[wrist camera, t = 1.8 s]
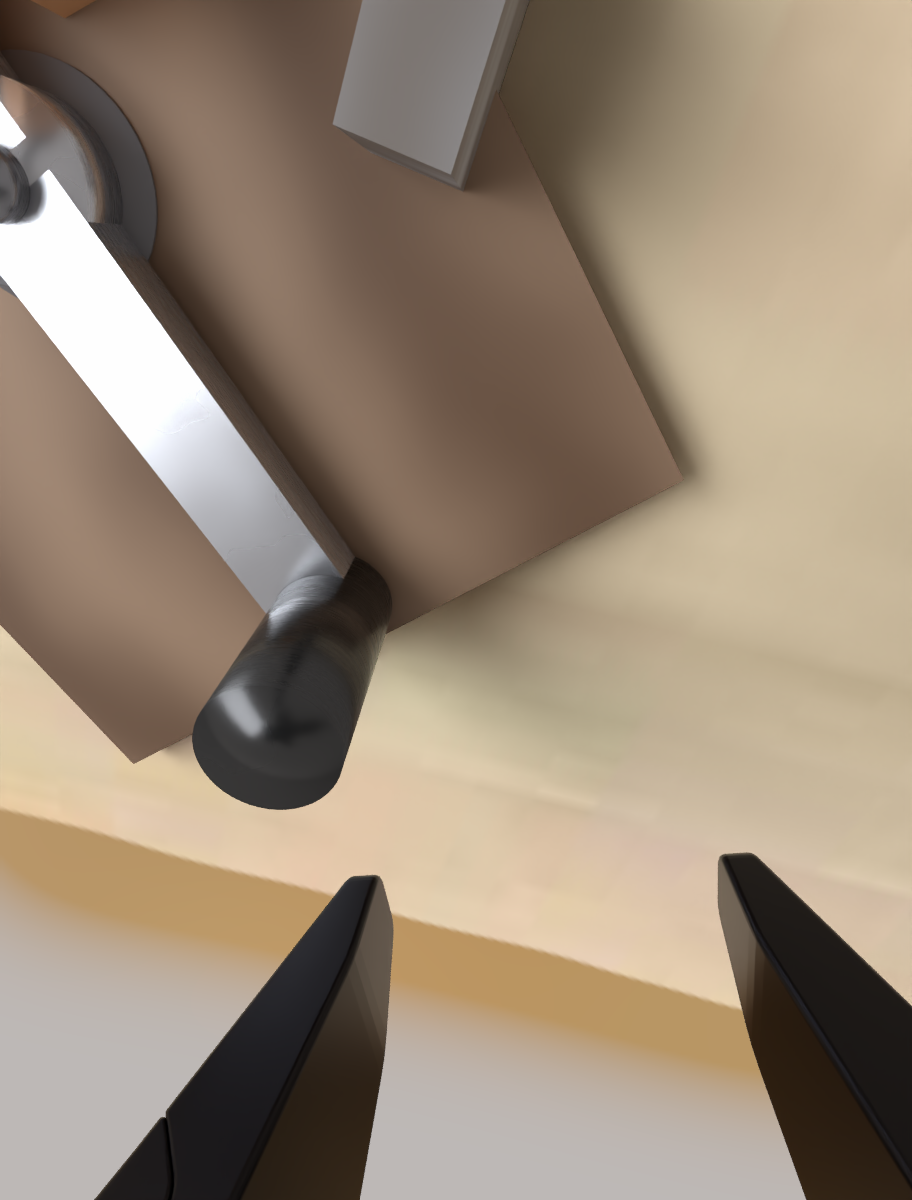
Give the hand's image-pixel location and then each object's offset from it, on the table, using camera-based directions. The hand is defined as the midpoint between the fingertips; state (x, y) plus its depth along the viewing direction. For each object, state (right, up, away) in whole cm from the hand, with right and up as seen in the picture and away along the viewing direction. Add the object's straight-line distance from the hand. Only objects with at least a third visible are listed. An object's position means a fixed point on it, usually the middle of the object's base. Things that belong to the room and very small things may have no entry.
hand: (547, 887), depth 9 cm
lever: (-8, +9, +7) cm, 14 cm away
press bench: (-7, +10, +8) cm, 14 cm away
